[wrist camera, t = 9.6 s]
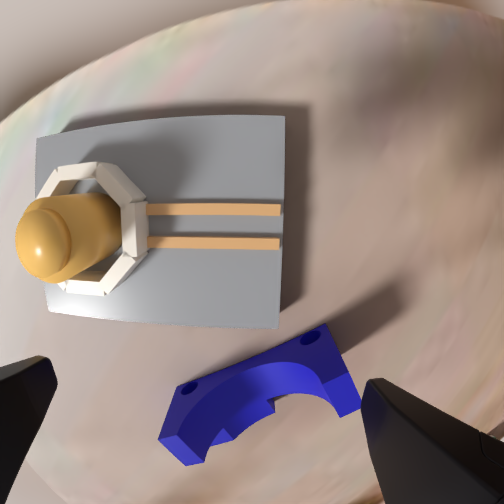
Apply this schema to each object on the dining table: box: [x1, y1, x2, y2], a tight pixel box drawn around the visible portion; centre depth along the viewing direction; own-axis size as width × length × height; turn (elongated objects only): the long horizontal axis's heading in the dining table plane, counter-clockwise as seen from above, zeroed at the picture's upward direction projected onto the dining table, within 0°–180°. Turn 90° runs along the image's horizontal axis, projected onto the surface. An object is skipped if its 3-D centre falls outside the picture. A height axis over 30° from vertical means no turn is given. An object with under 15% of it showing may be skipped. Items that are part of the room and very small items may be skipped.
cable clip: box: [158, 324, 361, 466], centre depth 18 cm, size 12×4×6 cm, turn 118°
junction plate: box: [35, 115, 285, 329], centre depth 16 cm, size 16×12×4 cm
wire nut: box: [15, 192, 122, 284], centre depth 13 cm, size 4×4×6 cm
